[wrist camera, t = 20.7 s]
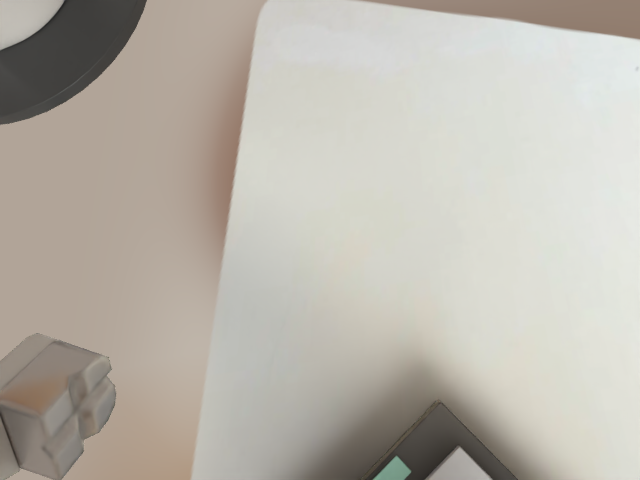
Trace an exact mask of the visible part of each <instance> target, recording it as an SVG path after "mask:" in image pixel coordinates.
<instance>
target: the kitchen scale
mask: <svg viewBox="0 0 640 480" xmlns="http://www.w3.org/2000/svg"><path fill="white" fill-rule="evenodd" d="M360 480H518V479H517V478H516V477H515V476H514V475H513V474H512V473H511V472H510V471H509V470H508V469H507V468H506V467H505V466H504V465H503V464H502V463H501V462H500V461H499V460H498V459H497V458H496V457H495V456H494V455H493V454H492V453H491V452H490V451H489V450H488V449H487V448H486V447H485V446H484V445H483V444H482V443H481V442H480V441H479V440H478V439H477V438H476V437H475V436H474V435H473V434H472V433H471V432H470V431H469V430H468V429H467V428H466V427H465V426H464V425H463V424H462V423H461V422H460V421H459V420H458V419H457V418H456V417H455V416H454V415H453V414H452V413H451V412H450V411H449V410H448V409H447V408H446V407H445V406H444V405H443V404H442V403H441V402H440V401H439V400H437V401H436V402H435V403H434V404H433V405H432V406H431V407H430V408H429V409H428V410H427V411H426V412H425V414H424V415H423V416H422V417H421V418H420V419H419V420H418V421H417V422H416V423H415V424H414V425H413V426H412V427H411V428H410V429H409V430H408V431H407V432H406V433H405V434H404V435H403V436H402V437H401V438H400V439H399V440H398V441H397V442H396V443H395V444H394V445H393V446H392V447H391V448H390V450H389V451H388V452H387V453H386V454H385V455H384V456H383V457H382V458H381V459H380V460H379V461H378V462H377V463H376V464H375V465H374V466H373V467H372V468H371V469H370V470H369V471H368V472H367V473H366V474H365V475H364V476H363V477H362V478H361V479H360Z"/></svg>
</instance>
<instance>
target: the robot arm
mask: <svg viewBox="0 0 640 480" xmlns="http://www.w3.org/2000/svg"><path fill="white" fill-rule="evenodd" d="M64 1H65V0H0V50H2V49H4V48H7V47H9V46H12V45H14V44H17V43H19V42H21V41H23V40H25V39H27V38H28V37H30V36H31V35H33V34H34V33H36V32H37V31H38V30H40V29H41V28H42V27H43V26H44V25H45V24H47V23H48V22H49V21H50V20H51V18H52V17H53V16H54V15H55V14H56V13H57V11H58V10H59V9H60V7H61V6H62V4H63V2H64ZM111 370H112V369H111V365H110V360H109V357H107V356H104V355H101V354H98V353H95V352H92V351H89V350H87V349H84V348H80V347H78V346H75V345H72V344H69V343H66V342H63V341H61V340H57V339H54V338H51V337H48V336H45V335H42V334H39V333H36V334H34V335H32V336H29V337H27V338H26V339H25V340H24V341H22V342H21V343H20V344H19V345H18V346H17V347H16V348H15V349H14V350H12V351H11V352H10V353H9V354H8V355H7V356H6V357H5V358H3V359H2V360H1V361H0V480H5V479H7V478H9V477H10V476H12V475H14V474H16V473H17V472H19V471H20V469H19V468H21V469H25V470H27V471H30V472H33V473H36V474H39V475H42V476H45V477H48V478H51V479H53V480H61V479H62V478H63V477H64V476H65V475H66V473H67V472H68V471H69V470H70V468H71V467H72V465H73V464H74V463H75V462H76V461H77V460H78V458H79V457H80V456H81V454H82V453H83V451H84V440H85V439H87V438H89V437H91V436H93V435H95V434H97V433H99V432H100V430H101V429H102V427H103V426H104V425H105V424H106V422H107V421H108V419H109V417H110V415H111V412H112V410H113V408H114V406H115V399H116V391H115V385H114V384H113V383H112V382H111V381H110V379H109V378H108V377H107V374H108V373H109V372H110V371H111Z"/></svg>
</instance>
